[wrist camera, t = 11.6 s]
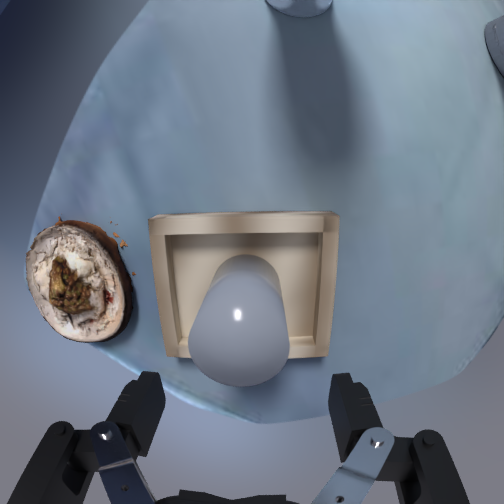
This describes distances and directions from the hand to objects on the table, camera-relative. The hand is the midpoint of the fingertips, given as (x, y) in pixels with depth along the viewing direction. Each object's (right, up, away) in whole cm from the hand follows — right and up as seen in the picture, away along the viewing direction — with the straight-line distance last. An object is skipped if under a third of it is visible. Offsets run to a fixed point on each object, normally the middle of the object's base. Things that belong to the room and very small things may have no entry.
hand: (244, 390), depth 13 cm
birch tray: (0, +4, +12) cm, 13 cm away
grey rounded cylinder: (0, +3, +12) cm, 12 cm away
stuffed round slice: (-16, +4, +13) cm, 21 cm away
